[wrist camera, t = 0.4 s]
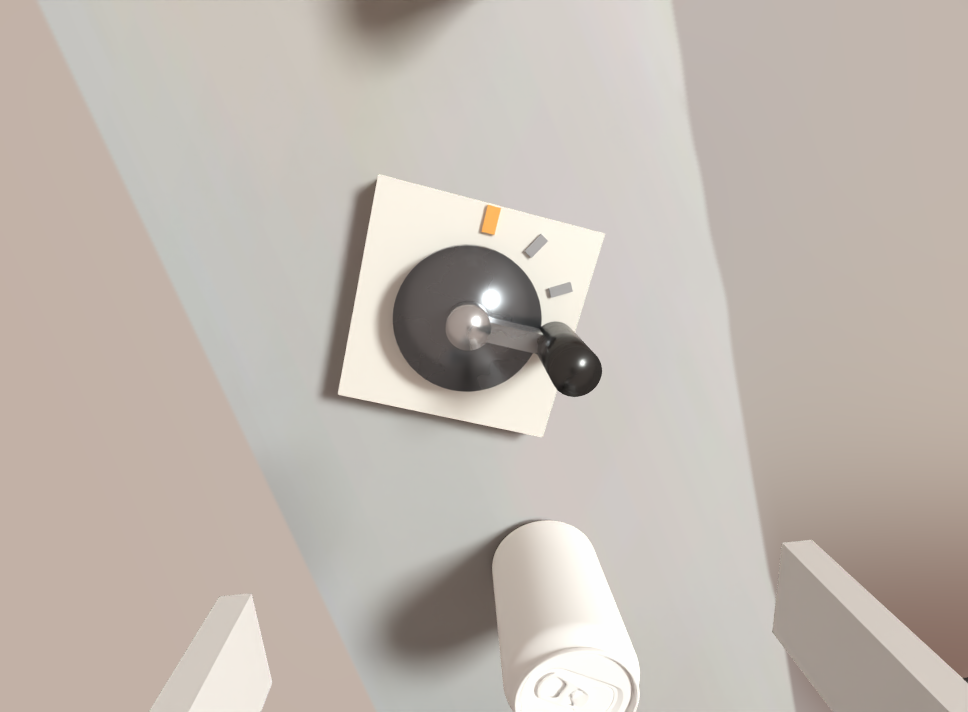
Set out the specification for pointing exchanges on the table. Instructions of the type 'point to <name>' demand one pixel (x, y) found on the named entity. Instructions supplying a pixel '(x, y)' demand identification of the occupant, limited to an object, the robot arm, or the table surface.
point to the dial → (483, 325)
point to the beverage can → (560, 625)
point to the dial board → (428, 228)
